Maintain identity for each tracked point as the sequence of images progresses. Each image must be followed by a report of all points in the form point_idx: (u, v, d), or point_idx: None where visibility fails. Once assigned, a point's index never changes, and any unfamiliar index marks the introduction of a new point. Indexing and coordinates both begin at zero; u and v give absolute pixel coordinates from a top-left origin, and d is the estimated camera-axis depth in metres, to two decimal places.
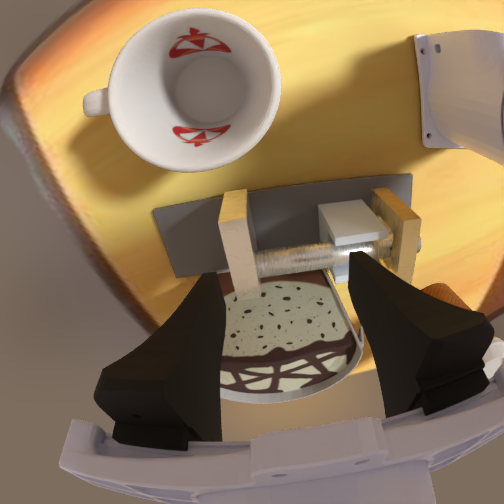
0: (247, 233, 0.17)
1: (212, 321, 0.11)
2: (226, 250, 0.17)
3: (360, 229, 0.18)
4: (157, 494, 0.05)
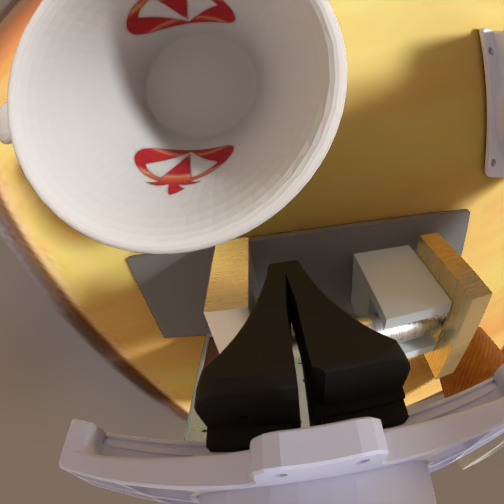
0: None
1: (288, 311, 0.11)
2: (218, 345, 0.11)
3: (417, 302, 0.11)
4: (157, 494, 0.05)
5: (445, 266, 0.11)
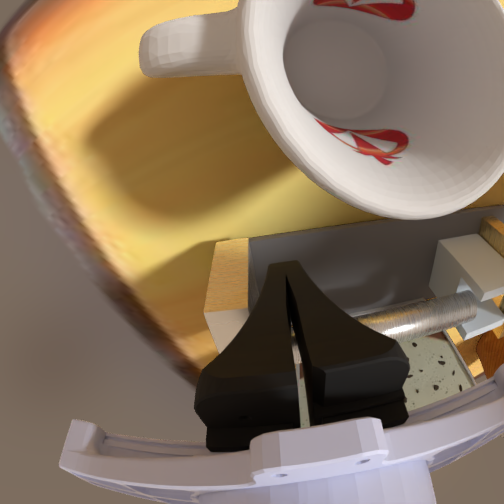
0: None
1: (288, 312, 0.11)
2: (218, 345, 0.11)
3: (500, 279, 0.11)
4: (157, 494, 0.05)
5: None
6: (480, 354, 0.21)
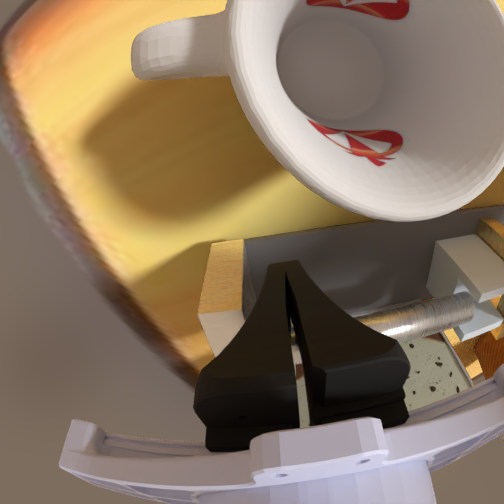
0: None
1: (287, 312, 0.11)
2: (213, 346, 0.11)
3: (498, 280, 0.11)
4: (157, 494, 0.05)
5: None
6: (479, 355, 0.21)
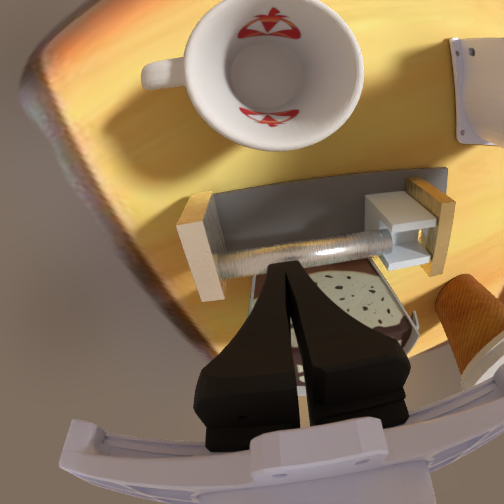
0: (205, 235, 0.17)
1: (287, 312, 0.11)
2: (186, 252, 0.17)
3: (412, 217, 0.17)
4: (157, 494, 0.05)
5: (423, 190, 0.18)
6: (438, 312, 0.27)
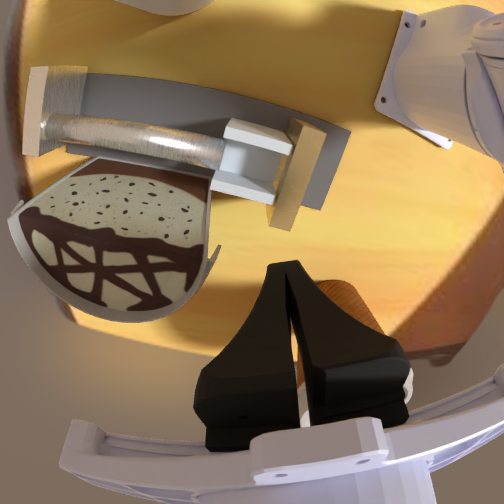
0: (45, 80, 0.11)
1: (287, 312, 0.11)
2: (27, 95, 0.11)
3: (260, 134, 0.14)
4: (157, 494, 0.05)
5: (295, 121, 0.16)
6: None
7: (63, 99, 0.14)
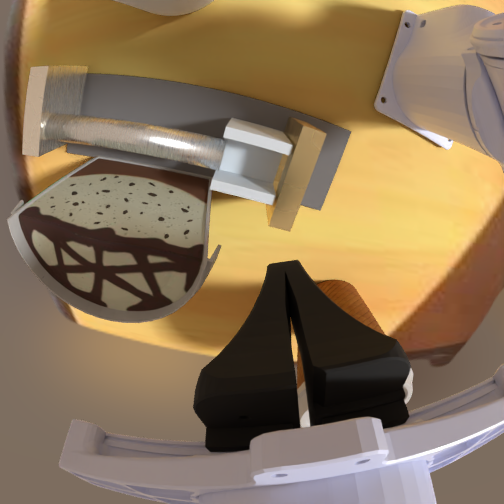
0: (45, 80, 0.11)
1: (287, 312, 0.11)
2: (27, 95, 0.11)
3: (260, 134, 0.14)
4: (157, 494, 0.05)
5: (295, 121, 0.16)
6: None
7: (63, 99, 0.14)
